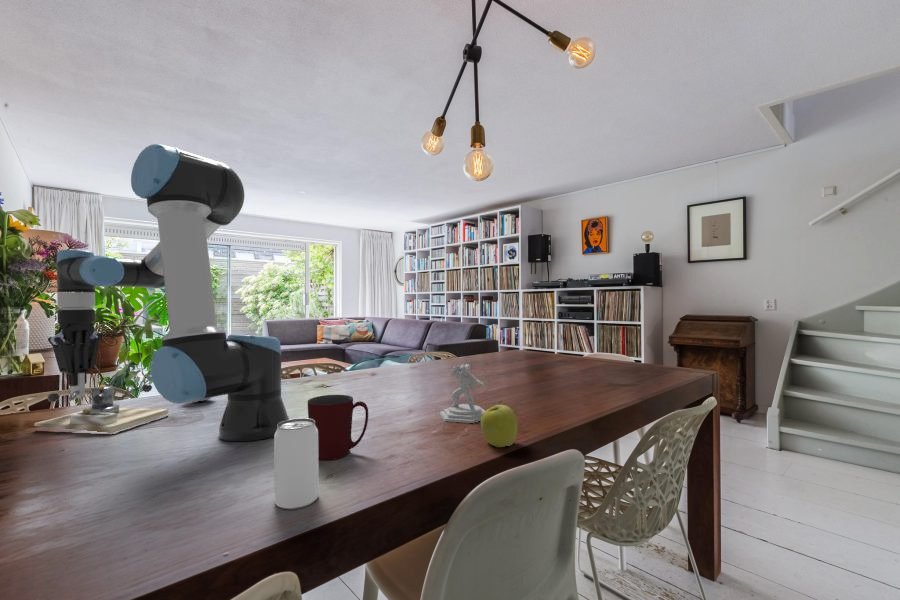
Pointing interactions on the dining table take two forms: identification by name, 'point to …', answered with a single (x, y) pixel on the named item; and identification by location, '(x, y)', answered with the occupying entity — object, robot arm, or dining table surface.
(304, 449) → the can
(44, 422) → the stand
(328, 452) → the mug
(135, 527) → the dining table surface
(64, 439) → the dining table surface
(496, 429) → the apple
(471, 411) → the figurine
